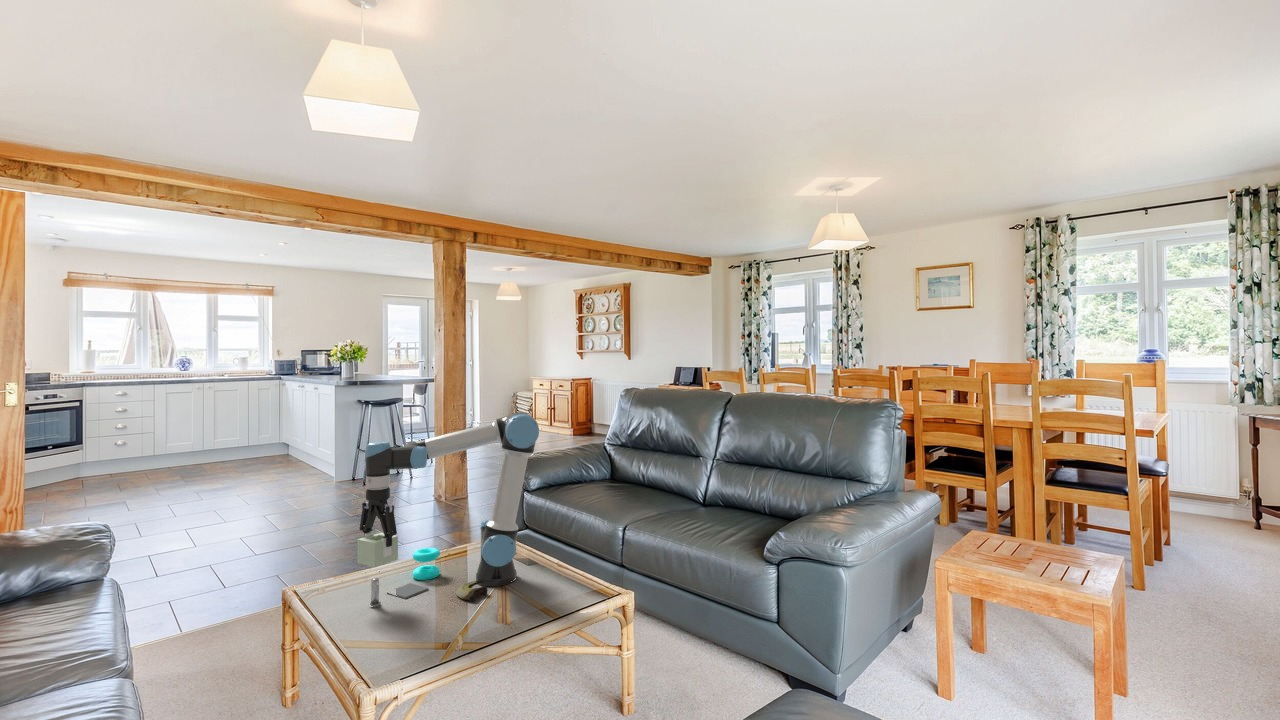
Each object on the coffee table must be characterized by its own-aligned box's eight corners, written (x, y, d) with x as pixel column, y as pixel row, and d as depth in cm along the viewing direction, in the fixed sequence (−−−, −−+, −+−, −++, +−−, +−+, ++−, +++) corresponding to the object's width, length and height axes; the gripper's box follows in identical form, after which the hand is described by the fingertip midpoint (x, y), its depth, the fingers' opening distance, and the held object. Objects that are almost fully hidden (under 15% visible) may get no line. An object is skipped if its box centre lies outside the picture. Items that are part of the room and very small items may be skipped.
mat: (428, 589, 212) (428, 588, 212) (405, 599, 203) (405, 597, 203) (410, 584, 217) (410, 583, 217) (386, 593, 208) (386, 591, 208)
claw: (489, 600, 203) (489, 590, 203) (459, 605, 199) (459, 595, 199) (481, 583, 221) (481, 574, 221) (452, 587, 217) (452, 578, 217)
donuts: (443, 551, 225) (415, 556, 219) (442, 577, 224) (415, 583, 219) (436, 545, 233) (410, 549, 228) (436, 570, 233) (410, 575, 227)
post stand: (382, 604, 198) (383, 578, 199) (373, 608, 195) (373, 581, 195) (376, 602, 200) (376, 576, 200) (366, 606, 197) (366, 579, 197)
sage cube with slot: (397, 559, 200) (397, 536, 200) (374, 567, 193) (374, 542, 193) (380, 555, 205) (380, 532, 205) (357, 563, 197) (357, 539, 197)
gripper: (347, 486, 201) (347, 552, 201) (389, 492, 191) (389, 562, 190) (367, 482, 208) (367, 546, 207) (408, 488, 197) (408, 555, 197)
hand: (377, 553), depth 199 cm, fingers closed on sage cube with slot, 9 cm apart
